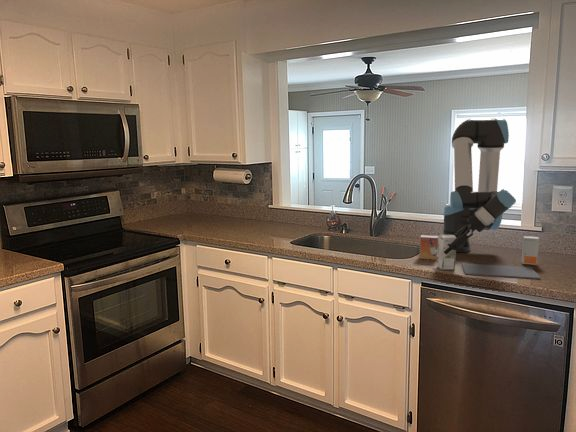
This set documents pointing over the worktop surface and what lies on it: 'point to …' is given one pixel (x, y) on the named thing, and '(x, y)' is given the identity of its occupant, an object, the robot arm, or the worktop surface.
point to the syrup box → (449, 260)
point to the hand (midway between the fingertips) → (438, 255)
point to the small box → (428, 247)
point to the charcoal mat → (500, 271)
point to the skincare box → (530, 250)
